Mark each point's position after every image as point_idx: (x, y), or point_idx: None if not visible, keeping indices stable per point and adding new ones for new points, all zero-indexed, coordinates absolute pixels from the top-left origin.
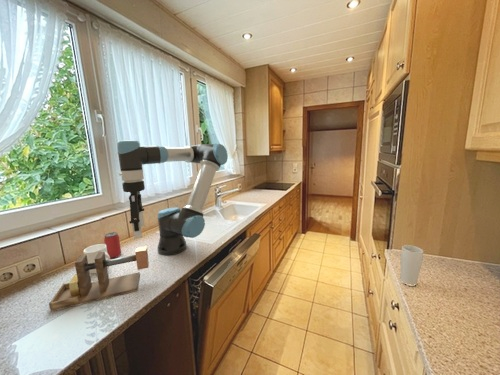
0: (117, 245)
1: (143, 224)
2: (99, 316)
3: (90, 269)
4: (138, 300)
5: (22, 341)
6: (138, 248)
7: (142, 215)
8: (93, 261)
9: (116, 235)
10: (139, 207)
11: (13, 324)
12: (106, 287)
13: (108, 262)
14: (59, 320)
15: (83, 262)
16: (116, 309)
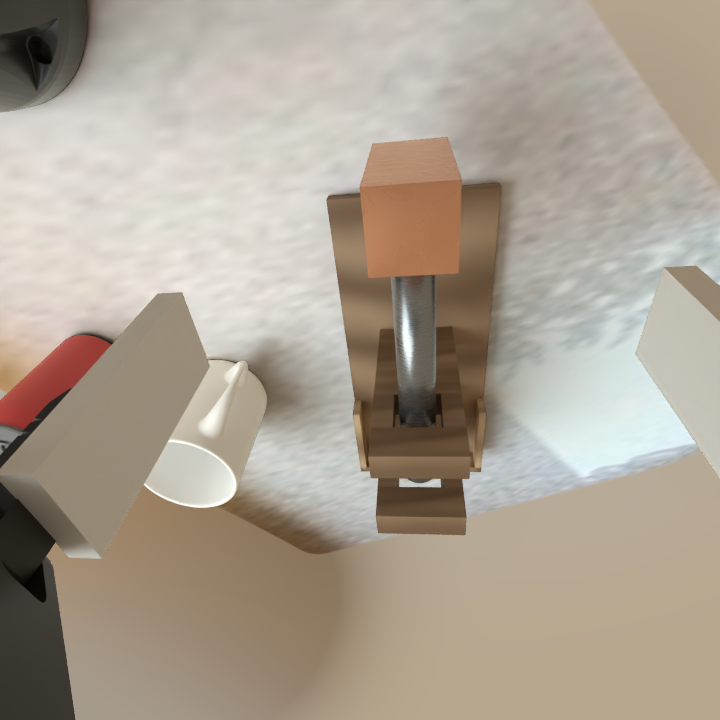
0: (67, 378)
1: (172, 314)
2: (612, 308)
3: None
4: (603, 160)
5: (590, 463)
6: (391, 257)
7: (88, 419)
8: (250, 437)
9: (14, 422)
10: (15, 654)
11: (492, 499)
12: (438, 332)
13: (433, 397)
14: (546, 416)
15: (438, 501)
16: (609, 254)
